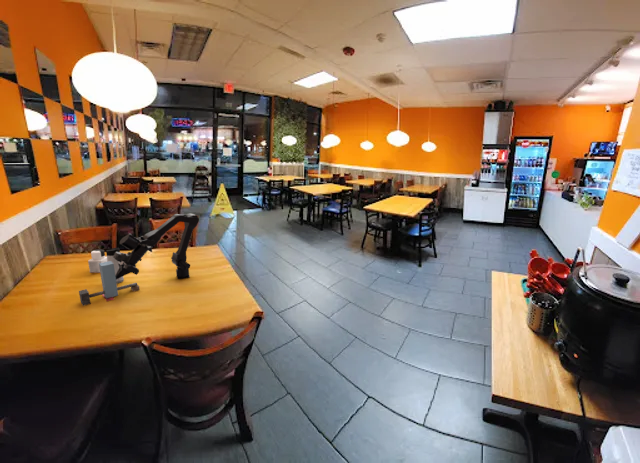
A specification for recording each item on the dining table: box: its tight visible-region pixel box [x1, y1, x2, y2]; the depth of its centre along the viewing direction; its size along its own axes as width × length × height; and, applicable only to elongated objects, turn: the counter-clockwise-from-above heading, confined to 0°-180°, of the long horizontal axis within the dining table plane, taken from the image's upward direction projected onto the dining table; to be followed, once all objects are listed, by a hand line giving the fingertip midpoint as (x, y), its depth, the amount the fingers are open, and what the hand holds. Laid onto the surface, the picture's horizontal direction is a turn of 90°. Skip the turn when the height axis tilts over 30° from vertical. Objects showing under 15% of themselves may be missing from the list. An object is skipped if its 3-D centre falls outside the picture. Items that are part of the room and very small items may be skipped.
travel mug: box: [105, 247, 125, 284], centre depth 162 cm, size 6×7×20 cm
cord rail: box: [78, 282, 140, 307], centre depth 148 cm, size 24×10×6 cm, turn 138°
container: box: [87, 248, 108, 273], centre depth 177 cm, size 8×8×13 cm
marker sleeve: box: [99, 261, 119, 298], centre depth 146 cm, size 5×5×18 cm
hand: (115, 278), depth 149 cm, fingers closed, pressing on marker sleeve
